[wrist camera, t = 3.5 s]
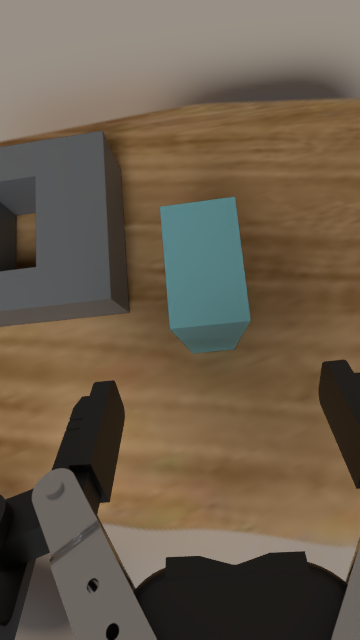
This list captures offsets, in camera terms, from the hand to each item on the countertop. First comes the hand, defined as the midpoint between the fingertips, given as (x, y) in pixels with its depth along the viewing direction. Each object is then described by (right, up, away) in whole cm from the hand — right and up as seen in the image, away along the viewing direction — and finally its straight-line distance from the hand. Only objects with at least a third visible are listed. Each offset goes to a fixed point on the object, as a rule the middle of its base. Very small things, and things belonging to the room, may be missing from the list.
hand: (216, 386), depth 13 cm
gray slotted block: (-13, +8, +14) cm, 21 cm away
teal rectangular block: (+1, +3, +12) cm, 12 cm away
